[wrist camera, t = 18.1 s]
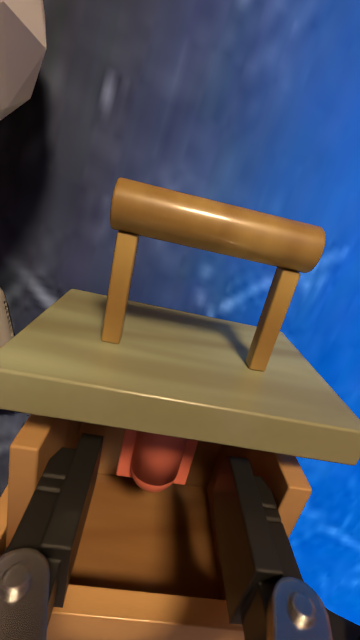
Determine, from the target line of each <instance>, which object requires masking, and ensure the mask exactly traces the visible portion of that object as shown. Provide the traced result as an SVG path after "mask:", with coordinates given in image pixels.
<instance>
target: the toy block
mask: <svg viewBox="0 0 360 640" xmlns="http://www.w3.org/2000/svg"><path fill="white" fill-rule="evenodd" d="M197 444H198V441H197V440H190V439H184V438H178V437H172V436H165V435H159V434H153V433H147V432H140V431H134V430H128V429H125V431H124V436H123V441H122V446H121V452H120V457H119V462H118V467H117V472H116V475H118V476H125V477H132V478H133V479H134V481H135V483H136V484H137V485H138V486H139V487H140V488H141V489H143V490H145V491H148V492H160V491H163V490H165V489H166V488H168V487H169V486H170V485H171V484H172V483H175V484H182V485H185V483H186V480H187V476H188V473H189V470H190V467H191V463H192V460H193V457H194V454H195V450H196V447H197Z"/></svg>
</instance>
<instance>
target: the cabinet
mask: <svg viewBox="0 0 360 640" xmlns="http://www.w3.org/2000/svg"><path fill="white" fill-rule="evenodd" d="M7 504H8V485H7V487H6V489H5V490H4V492H3V494H2V496H1V497H0V556H1V555H2V554H3V553H4V551H5V550H6V528H7ZM46 640H245V638H244V632H243V626H242V625H239V624H229V616H228V609H227V602H226V600H218V599H208V598H198V597H188V596H179V595H169V594H159V593H150V592H140V591H130V590H121V589H111V588H101V587H91V586H82V585H72V584H69V585H68V589H67V593H66V597H65V600H64V604H63V608H60V607H53V610H52V614H51V617H50V621H49V624H48V628H47V637H46Z"/></svg>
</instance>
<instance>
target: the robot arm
mask: <svg viewBox="0 0 360 640" xmlns="http://www.w3.org/2000/svg"><path fill="white" fill-rule="evenodd" d="M103 440H104V436H100V435H93V434H87V433H82V435H81V437H80V440H79V442H78V445H77V448H76V449H72V448H65V447H62V448H61V449H59V450H58V451H57V452H56V453H55V454H54V455H53V456H52V457H51V458H50V459H49V461H48V463H47V465H46V467H45V470H44V472H43V474H42V477H41V478H40V480H39V482H38V485H37V487H36V490H35V491H34V493H33V495H32V497H31V499H30V502H29V504H28V506H27V508H26V510H25V512H24V514H23V517H22V519H21V521H20V523H19V525H18V527H17V529H16V531H15V534H14V536H13V538H12V540H11V542H10V544H9V546H8V547H7V549H6V550H5V551H4V553H3V554H2V555H1V556H0V640H46V637H47V628H48V624H49V621H50V617H51V614H52V610H53V607H60V608H63V604H64V600H65V597H66V593H67V589H68V585H69V582H70V578H71V574H72V570H73V567H74V563H75V559H76V555H77V551H78V548H79V544H80V540H81V536H82V533H83V529H84V525H85V521H86V518H87V514H88V510H89V506H90V503H91V499H92V495H93V491H94V487H95V483H96V479H97V474H98V469H99V464H100V458H101V452H102V446H103ZM213 510H214V517H215V524H216V532H217V539H218V546H219V553H220V560H221V567H222V574H223V581H224V588H225V595H226V602H227V609H228V616H229V624H239V625H242V626H243V632H244V638H245V640H360V626H358V625H356V624H354V623H352V622H350V621H348V620H346V619H344V618H342V617H340V616H338V615H336V614H334V613H333V612H331V611H329V610H328V609H327V608H325V606H324V604H323V602H322V601H321V599H320V598H319V596H318V595H317V594H316V592H315V591H314V590H313V589H312V588H311V587H310V586H309V585H307V584H306V583H305V582H304V581H303V579H302V577H301V574H300V571H299V568H298V566H297V563H296V560H295V557H294V554H293V551H292V548H291V546H290V543H289V540H288V537H287V534H286V531H285V528H284V526H283V523H281V517H280V514H279V511H278V509H277V505H276V503H275V500H274V497H273V494H272V491H271V490H270V488H269V487H268V486H267V484H266V483H265V481H264V480H263V479H262V477H259V476H254V475H253V472H252V469H251V465H250V462H249V460H248V459H247V458H241V457H234V456H228V455H227V456H225V458H224V460H223V463H222V466H221V468H220V471H219V474H218V477H217V479H216V482H215V485H214V489H213Z"/></svg>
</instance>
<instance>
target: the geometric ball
mask: <svg viewBox="0 0 360 640" xmlns="http://www.w3.org/2000/svg"><path fill="white" fill-rule="evenodd" d="M45 52H46V27H45V13H44V5H43V0H0V121H1V120H2V119H3V118H5V117H6V116H7V115H9V114H10V113H11V112H13V111H14V110H15V109H17V108H18V107H20V106H21V105H22V104H24V103H25V102H26V101H28V100H29V99H30V98H31V96H32V93H33V89H34V86H35V83H36V80H37V77H38V74H39V71H40V68H41V65H42V61H43V58H44V55H45Z"/></svg>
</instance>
